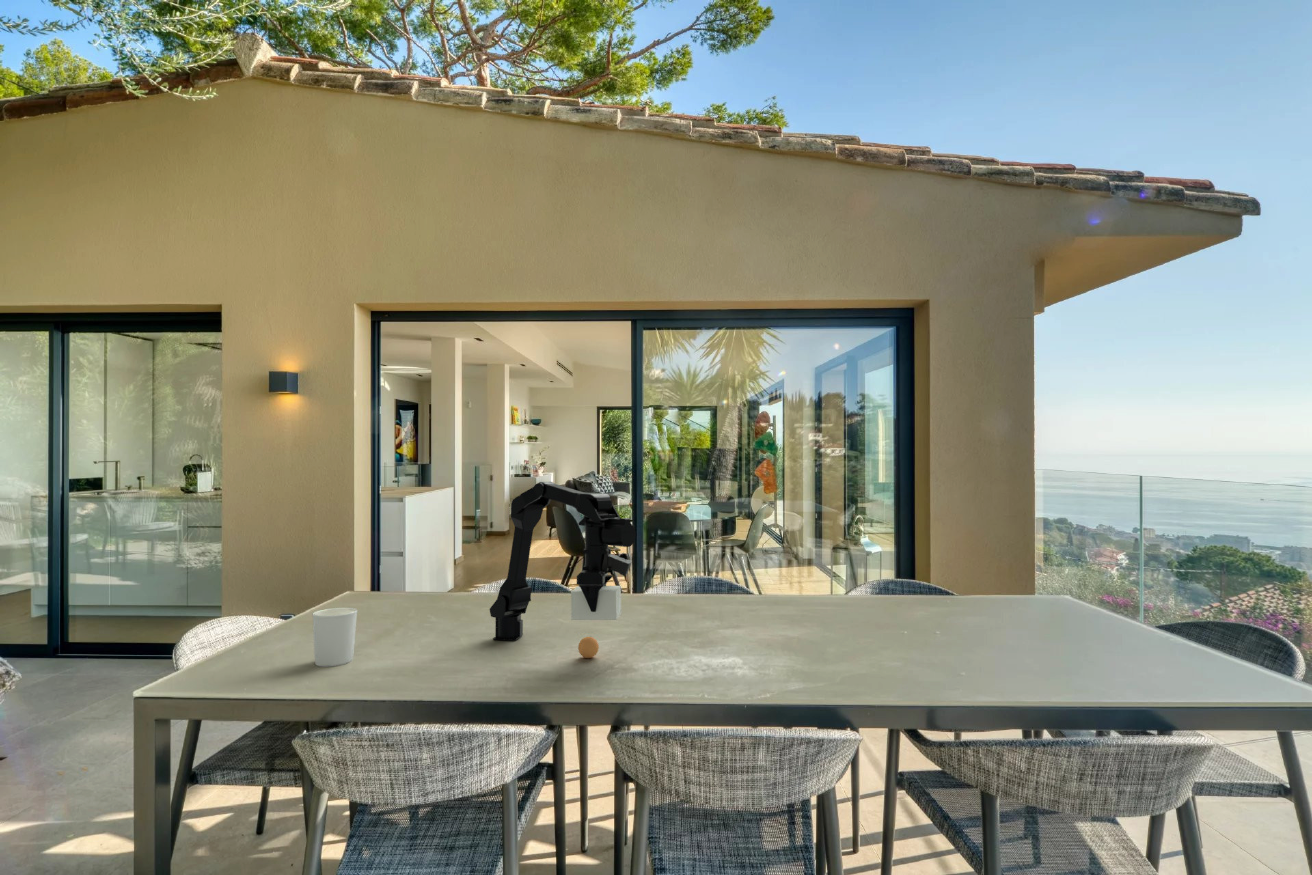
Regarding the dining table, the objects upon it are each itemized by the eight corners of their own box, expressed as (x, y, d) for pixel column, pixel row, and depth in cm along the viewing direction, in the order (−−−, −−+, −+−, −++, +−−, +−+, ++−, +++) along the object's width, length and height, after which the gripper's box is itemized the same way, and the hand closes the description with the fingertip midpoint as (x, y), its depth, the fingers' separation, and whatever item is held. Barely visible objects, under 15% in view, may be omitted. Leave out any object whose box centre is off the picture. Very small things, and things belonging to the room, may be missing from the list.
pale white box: (571, 619, 156) (570, 591, 156) (578, 613, 163) (577, 585, 164) (616, 619, 155) (616, 591, 155) (621, 613, 162) (620, 585, 163)
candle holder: (301, 665, 153) (302, 614, 154) (333, 654, 163) (334, 606, 163) (335, 669, 151) (336, 617, 151) (365, 657, 160) (366, 608, 161)
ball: (591, 636, 156) (599, 656, 156) (596, 631, 161) (603, 650, 161) (572, 644, 157) (580, 663, 156) (578, 638, 162) (585, 657, 161)
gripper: (623, 549, 150) (623, 617, 149) (633, 540, 168) (634, 601, 168) (576, 548, 151) (576, 616, 150) (591, 540, 170) (591, 600, 169)
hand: (596, 608), depth 159 cm, fingers closed on pale white box, 7 cm apart
